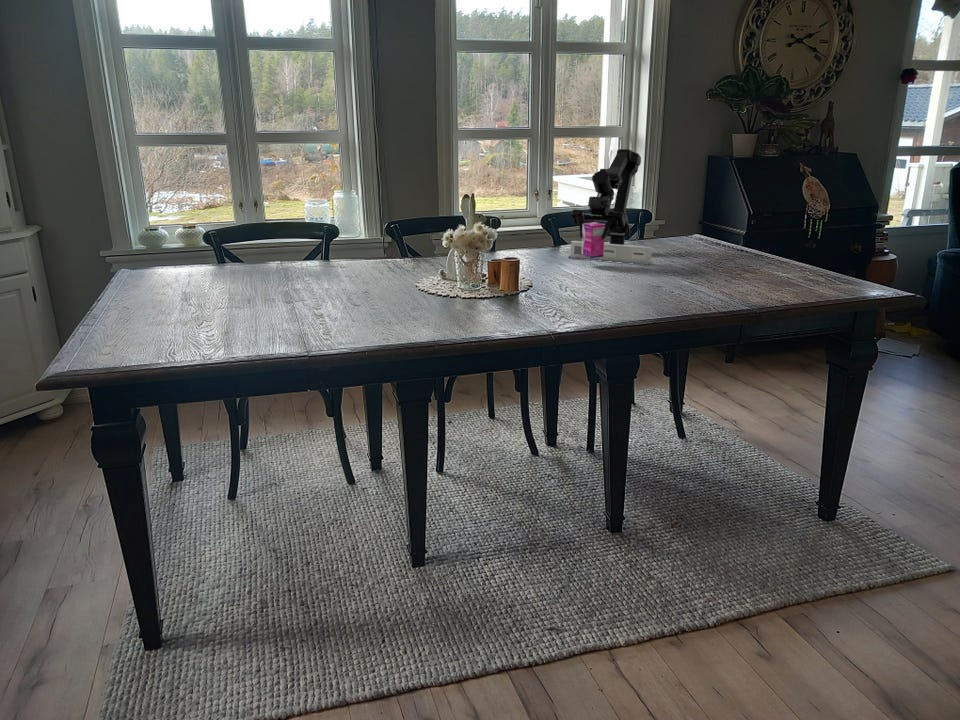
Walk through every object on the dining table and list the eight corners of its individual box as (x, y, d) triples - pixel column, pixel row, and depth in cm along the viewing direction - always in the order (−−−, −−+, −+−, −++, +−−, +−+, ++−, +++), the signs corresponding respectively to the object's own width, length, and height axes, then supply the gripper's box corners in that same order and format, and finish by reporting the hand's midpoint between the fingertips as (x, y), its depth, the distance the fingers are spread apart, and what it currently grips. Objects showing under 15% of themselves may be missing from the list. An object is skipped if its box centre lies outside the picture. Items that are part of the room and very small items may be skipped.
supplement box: (580, 255, 256) (582, 223, 252) (593, 253, 259) (595, 221, 255) (590, 258, 251) (592, 225, 247) (604, 256, 254) (605, 224, 250)
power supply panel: (574, 255, 274) (574, 240, 272) (652, 262, 261) (653, 246, 259) (568, 258, 269) (569, 242, 267) (647, 265, 256) (648, 249, 254)
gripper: (573, 186, 254) (561, 222, 249) (625, 188, 246) (613, 225, 241) (580, 206, 263) (568, 241, 258) (630, 209, 255) (619, 245, 250)
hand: (591, 237), depth 251 cm, fingers closed on supplement box, 8 cm apart
